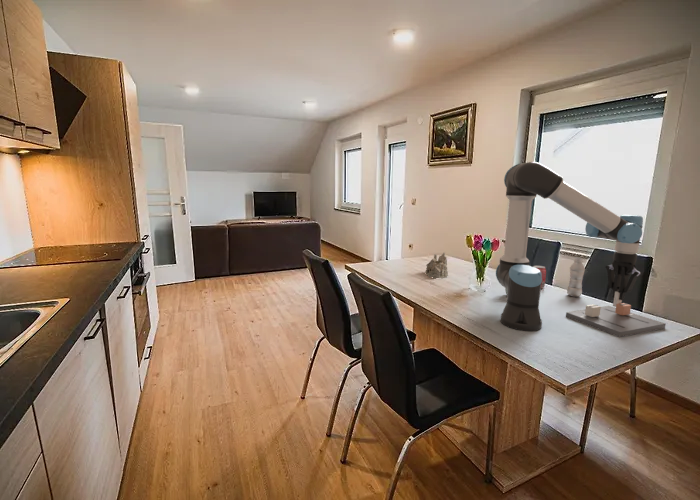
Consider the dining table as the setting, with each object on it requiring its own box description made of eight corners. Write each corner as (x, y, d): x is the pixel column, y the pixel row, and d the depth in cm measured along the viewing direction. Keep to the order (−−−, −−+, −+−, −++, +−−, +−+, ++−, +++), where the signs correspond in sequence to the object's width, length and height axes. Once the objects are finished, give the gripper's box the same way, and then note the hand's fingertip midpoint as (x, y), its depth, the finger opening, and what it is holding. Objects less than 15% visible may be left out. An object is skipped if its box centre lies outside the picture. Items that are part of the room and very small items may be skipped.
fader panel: (619, 337, 128) (620, 331, 128) (565, 316, 148) (566, 311, 148) (664, 328, 136) (665, 323, 136) (608, 309, 157) (608, 305, 156)
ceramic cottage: (431, 270, 230) (432, 248, 226) (453, 276, 218) (454, 253, 214) (417, 276, 220) (417, 253, 216) (439, 282, 208) (440, 258, 204)
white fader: (591, 317, 141) (593, 307, 141) (584, 314, 144) (586, 305, 144) (599, 315, 143) (600, 306, 142) (592, 313, 146) (593, 304, 145)
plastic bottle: (575, 294, 180) (580, 256, 177) (584, 298, 173) (589, 259, 170) (563, 294, 180) (567, 256, 176) (572, 298, 173) (576, 259, 170)
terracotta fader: (622, 315, 143) (624, 306, 143) (615, 313, 146) (616, 303, 145) (629, 314, 145) (631, 304, 144) (622, 311, 148) (623, 302, 147)
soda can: (531, 285, 197) (533, 264, 195) (545, 287, 192) (547, 266, 190) (528, 287, 191) (530, 266, 189) (543, 290, 187) (545, 268, 185)
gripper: (649, 254, 138) (639, 310, 142) (615, 249, 150) (607, 300, 154) (636, 255, 136) (627, 312, 140) (603, 249, 148) (595, 302, 152)
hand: (616, 306), depth 147 cm, fingers closed
